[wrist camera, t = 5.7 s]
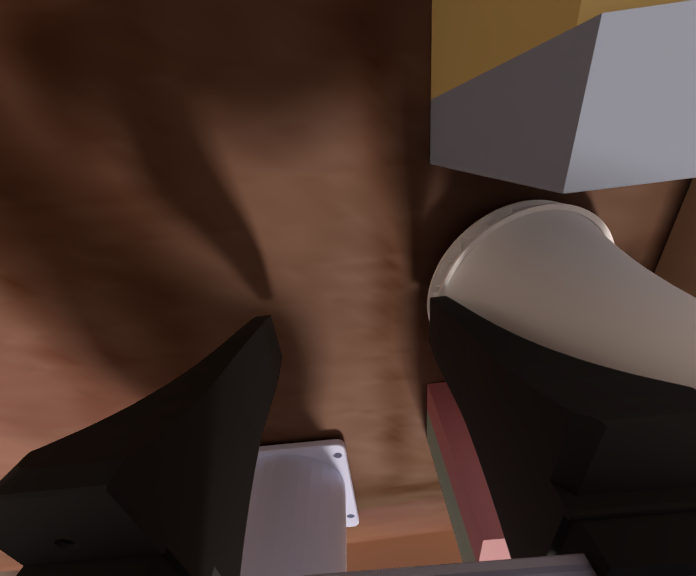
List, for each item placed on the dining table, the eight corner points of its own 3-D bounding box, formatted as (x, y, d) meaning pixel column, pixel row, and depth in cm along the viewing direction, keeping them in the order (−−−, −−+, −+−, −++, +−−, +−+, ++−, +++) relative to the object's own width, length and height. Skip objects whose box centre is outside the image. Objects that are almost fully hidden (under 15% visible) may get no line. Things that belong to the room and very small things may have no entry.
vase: (627, 213, 11) (1746, 437, 3) (544, 360, 15) (916, 688, 6) (459, 185, 10) (1634, 468, 1) (407, 354, 13) (618, 780, 4)
